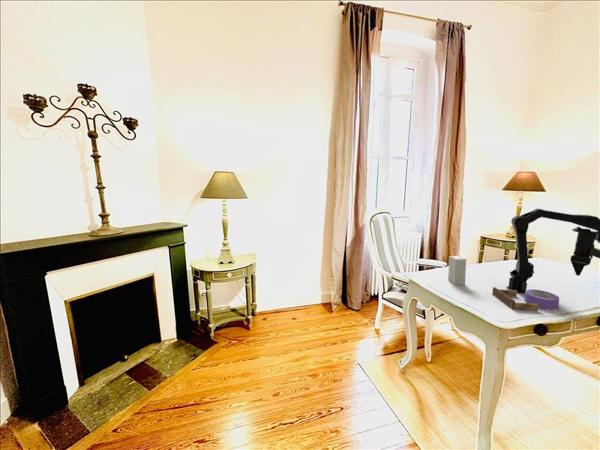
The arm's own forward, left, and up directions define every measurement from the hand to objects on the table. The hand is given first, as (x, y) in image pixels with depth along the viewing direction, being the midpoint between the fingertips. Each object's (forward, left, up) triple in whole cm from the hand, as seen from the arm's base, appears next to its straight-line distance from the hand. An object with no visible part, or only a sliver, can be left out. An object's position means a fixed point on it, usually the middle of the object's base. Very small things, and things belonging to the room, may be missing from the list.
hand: (578, 273), depth 126 cm
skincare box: (-48, +14, -13) cm, 52 cm away
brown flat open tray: (-31, -9, -13) cm, 35 cm away
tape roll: (-20, -9, -14) cm, 26 cm away
